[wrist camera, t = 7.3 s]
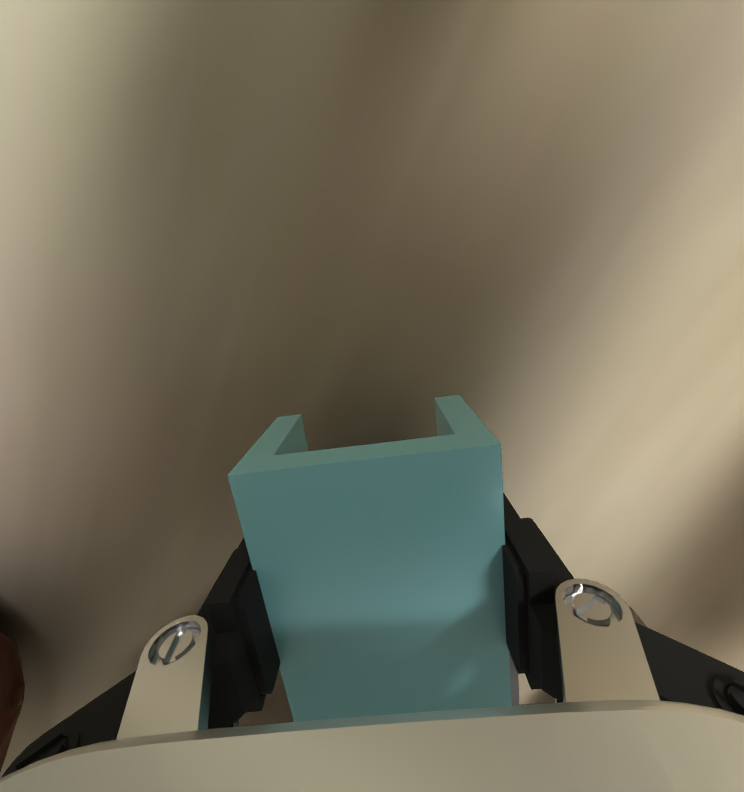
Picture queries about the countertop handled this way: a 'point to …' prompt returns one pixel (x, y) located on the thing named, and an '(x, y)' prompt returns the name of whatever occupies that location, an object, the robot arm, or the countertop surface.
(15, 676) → the butternut squash
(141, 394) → the countertop surface
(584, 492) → the countertop surface
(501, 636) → the teal u-channel piece
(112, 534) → the countertop surface
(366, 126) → the countertop surface
